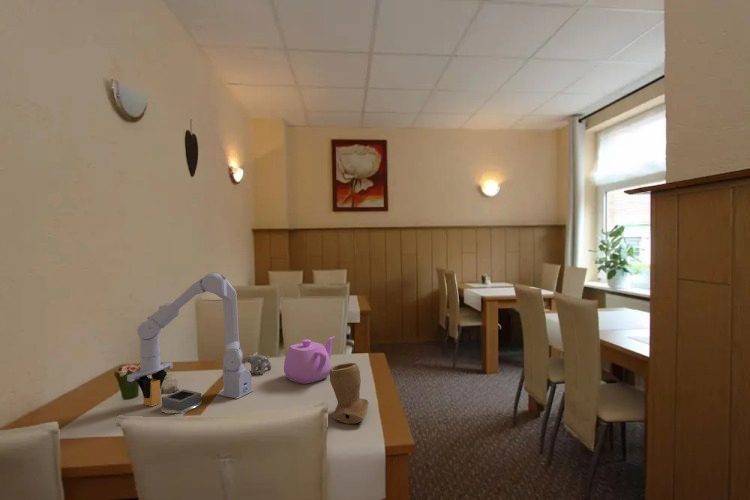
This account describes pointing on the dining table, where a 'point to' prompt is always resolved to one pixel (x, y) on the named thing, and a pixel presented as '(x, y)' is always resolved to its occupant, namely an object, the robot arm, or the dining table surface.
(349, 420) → the clay pipe bowl
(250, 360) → the gray elephant figurine
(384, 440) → the dining table surface
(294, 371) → the teapot
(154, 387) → the rectangular block
